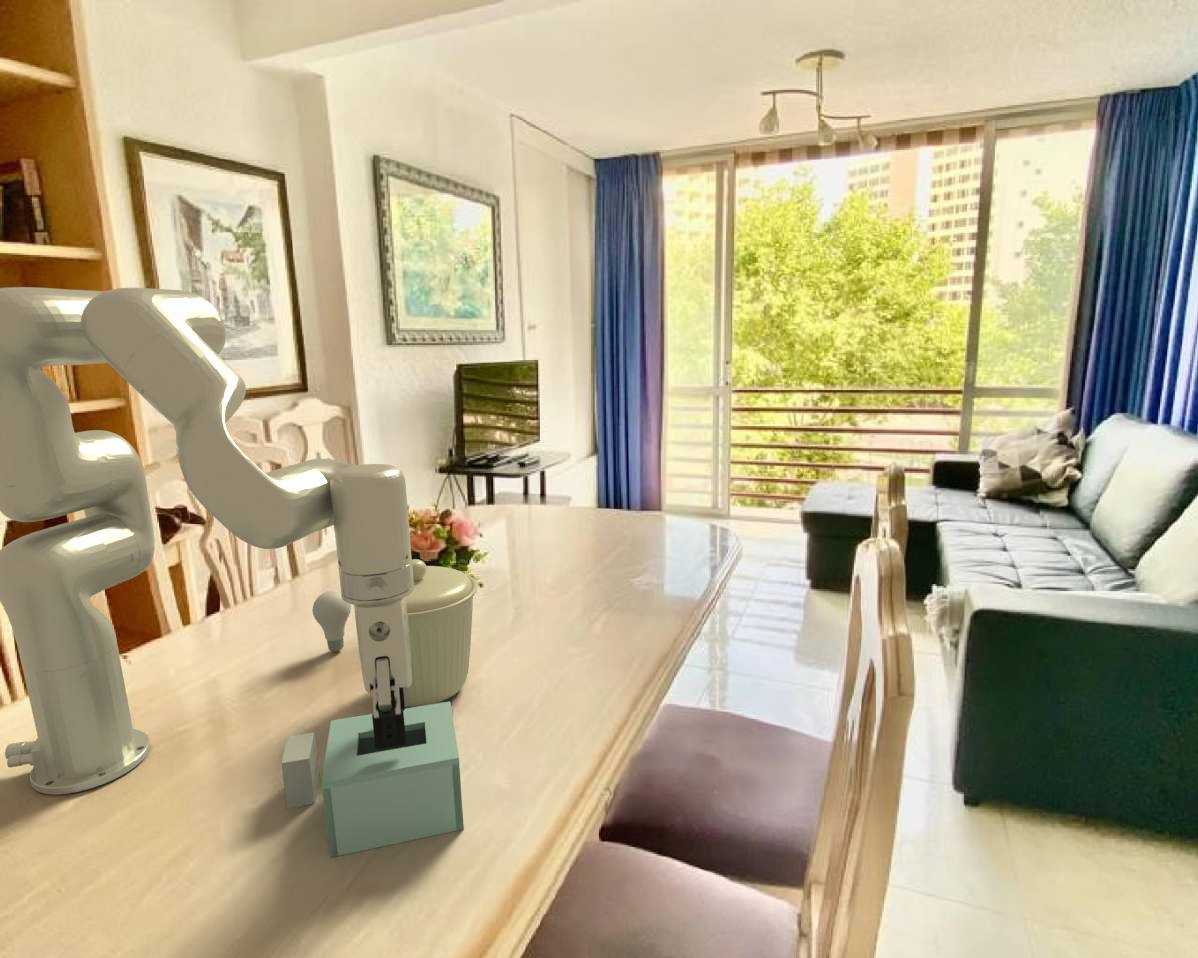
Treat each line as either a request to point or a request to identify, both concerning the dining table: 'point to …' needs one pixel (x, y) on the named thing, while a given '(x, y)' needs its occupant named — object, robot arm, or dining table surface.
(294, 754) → the gray rectangular block
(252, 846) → the dining table surface
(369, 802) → the coin box
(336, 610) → the lightbulb
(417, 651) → the canister
